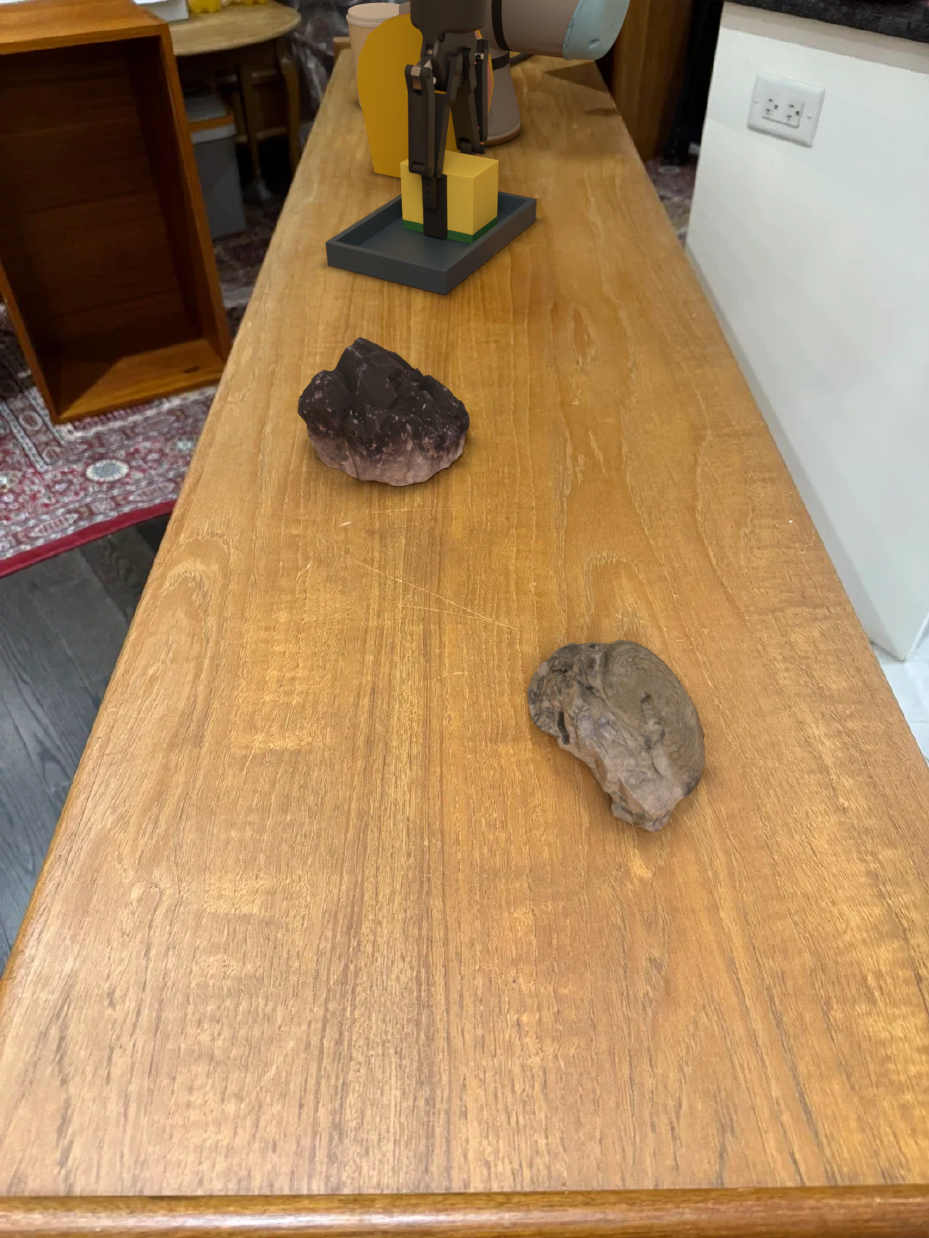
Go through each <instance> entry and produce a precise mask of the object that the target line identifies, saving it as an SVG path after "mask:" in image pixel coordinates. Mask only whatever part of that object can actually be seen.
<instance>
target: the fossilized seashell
mask: <svg viewBox="0 0 929 1238" xmlns="http://www.w3.org/2000/svg"><path fill="white" fill-rule="evenodd" d="M526 694H527V695H526V696H527V705H528V710H529V715H530V719H531V721H532V723H533V724H534V725H535V726H536V727H537V728H538V729H539V730H540V731H542V732H543V733H545V734H547V735H549V736H551V737H553V738H556V744H557V746H558V747H559V748H560V749H562V750H564V751H566V752H568V753H570V754H572V755H573V756H575V757H576V758H578V759H579V760H581V762H584V763H585V764H586V766H587V767H589V768H590V770H591V773H592V774H593V776H594V779H595V780H596V781H597V782H598V783H599V785H600V786H601V790H603V792H604V793H606V794H608V795H609V796H610V797H611V799H612V802H611V804H610V807H611V808H610V811H611V813H612V816H613V817H615V818H617V819H620V820H621V821H623V822H624V823H628V824H630V826H633V827H634V828H641V829H643V830H645V831H648V832H650V833H654V832H660V831H661V830H662V829H663V828H664V827H665V826H666V825H667V824H668V822H669V821H670V818H671V816H672V813H673V812H674V810H675V808H676V806H677V804H678V803H679V802H680V801H682V800H683V799H685V798H687V797H689V796H690V795H691V794H692V792H693V791H694V790H695V789H696V788H697V786H698V785H699V782H700V779H701V777H702V774H703V770H704V766H705V760H706V759H705V758H706V754H705V753H706V752H705V751H706V750H705V748H706V747H705V743H704V742H705V734H704V729H703V726H702V724H701V720H700V716H699V715H700V714H699V712H698V709H697V706H696V705H695V704H694V702H693V700H692V697H691V696H690V694H689V692H688V691H687V690H686V688H685V686H684V685H683V683H682V682H681V681H680V679H679V678H678V676H677V674H676V673H675V672H674V671H673V670H672V669H671V668H670V667H669V665H668V664H667V663H666V662H665V661H664V660H662V658H660V657H659V656H658V655H657V654H655V653H654V652H653V650H651V649H649V648H648V647H647V646H644V645H643V644H641V643H638V642H636V641H632V640H624V639H618V640H615V641H612V642H609V643H605V642H598V641H597V642H596V641H593V642H591V641H590V642H584V643H576V642H570V643H568V644H566V645H563V646H559V647H557V648H556V649H555V650H554V651H553V652H552V653H551V654H550V656H549V657H548V658H547V659H546V660H543V662H540V664H539V666H538V668H537V670H536V671H534V673H533V675H532V676H531V679H530V682H529V685H528V686H527V687H526Z"/></svg>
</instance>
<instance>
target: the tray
mask: <svg viewBox="0 0 929 1238" xmlns="http://www.w3.org/2000/svg"><path fill="white" fill-rule="evenodd" d="M537 202H538V199H537V198H533V197H528V196H523V195H519V194H515V193H509V192H506V191H505V192H504V191H500V190H498V199H497V225H496V226H494V227H493V228H492V229H491V230H489V231H488V232H487V233H485V234H484V235H483V236H482V237H480V238H479V239H478V240H476V241H475V242H474V243H473V244H469V243H464V242H460V241H455V240H451V239H447V238H445V239H442V238H438V237H433V236H429V235H425V234H424V233H421V232H416V231H412V230H407V229H403V214H402V193H400V194H398V195H397V196H395V197H394V198H392V199H390V200H389V201H388V202H386V203H384V204H382V205H381V206H379V207H378V208H377V209H375V210H374V211H372V212H370V213H368V214H366V216H364V217H362V218H361V219H358V221H356V222H354V223H353V224H352V225H350V226H348V227H347V228H345V229H343V230H342V231H340V232H339V233H337V234H336V235H334V236H332V237H331V238H330V239H328V240H326V241H325V251H326V261H327V266H329V267H333V268H337V269H341V270H345V271H348V272H353V273H357V274H361V275H365V276H368V277H372V278H376V279H381V280H384V281H389V282H391V283H396V284H401V285H404V286H408V287H411V288H416V289H420V290H423V291H428V292H431V293H435V294H439V295H443V296H444V295H445V296H446V295H448V294H449V293H450V292H451V291H453V290H454V289H455V288H456V287H457V286H458V285H460V284H461V283H462V282H464V281H465V280H466V279H467V278H469V276H471V275H472V274H473V273H475V272H476V271H477V270H478V269H479V268H480V267H482V266H483V265H484V264H485V263H486V262H488V261H489V260H490V259H491V258H493V257H494V256H496V254H497V253H499V252H500V251H501V250H503V249H504V248H505V247H506V246H507V245H508V244H510V243H511V242H512V241H514V240H515V239H516V238H517V237H518V236H519V235H520V234H522V233H523V232H525V230H527V229H528V228H530V226H532V224H534V223H536V220H537V205H538V203H537Z"/></svg>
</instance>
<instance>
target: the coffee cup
mask: <svg viewBox="0 0 929 1238" xmlns="http://www.w3.org/2000/svg"><path fill="white" fill-rule="evenodd" d="M399 5H401V4H399V3H394V2H393V3H392V2H370V3H369V2H368V3H361V4H356V5H353V6H351V7H349V8H348V10H347V14H346V18H345V19H346V22H347V26H348V36H349V42H350V51H351V57H352V59H351V60H352V65H353V73H354V79H355V87H356V94H357V101H358V105H359V106H360V107H361V102H360V97H359V92H358V87H357V70H358V57H359V54H360V52H361V50H362V48H363V45H364V43H365V41H366V39H367V36H368V34H369V33H370V32H372V31H373V30H374V29H375V28H377V27H378V26H379V25H380V24H381V23H383V22H384V21H385V20H387V19H389V18H392V17H394V16H396V15H399Z"/></svg>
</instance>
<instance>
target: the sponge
mask: <svg viewBox="0 0 929 1238" xmlns="http://www.w3.org/2000/svg"><path fill="white" fill-rule="evenodd" d="M400 171H401V178H400V191H401V193H402V214H403V229H407V230H412V231H416V232H421V233H424V231H423V203H422V198H423V197H422V178H421V175H419V174H414V173H410V172H409V169H408V159H406V160H405V161H403V162H401V163H400ZM442 174H445V175H447V214H448V237H447V239H451V240H455V241H460V242H464V243H469V244H473V243H474V242H475V241H476V240H478V239H479V238H480V237H482V236H483V235H484V234H485V233H487V232H488V231H489V230H491V229H492V228H493V227H494V226H496V225H497V199H498V191H499V159H493V158H489V157H485V156H481V157H479V156H473V155H468V154H463V153H458V152H453V151H447V150H445V156H444V165H443V172H442ZM401 193H400V194H401Z"/></svg>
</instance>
